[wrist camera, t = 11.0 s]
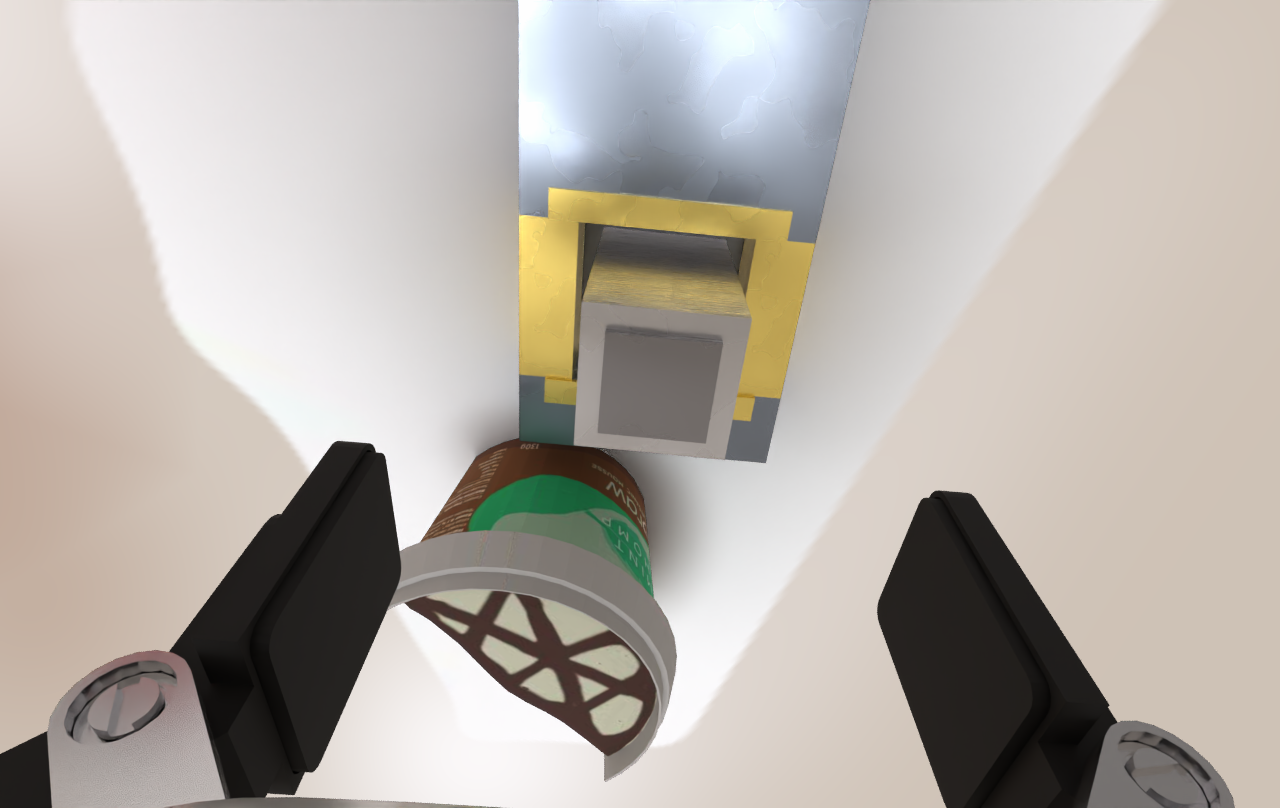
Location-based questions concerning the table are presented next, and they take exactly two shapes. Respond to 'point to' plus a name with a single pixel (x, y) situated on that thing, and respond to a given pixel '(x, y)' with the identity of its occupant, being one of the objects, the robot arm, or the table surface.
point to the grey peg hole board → (675, 167)
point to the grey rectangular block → (660, 345)
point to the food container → (552, 590)
